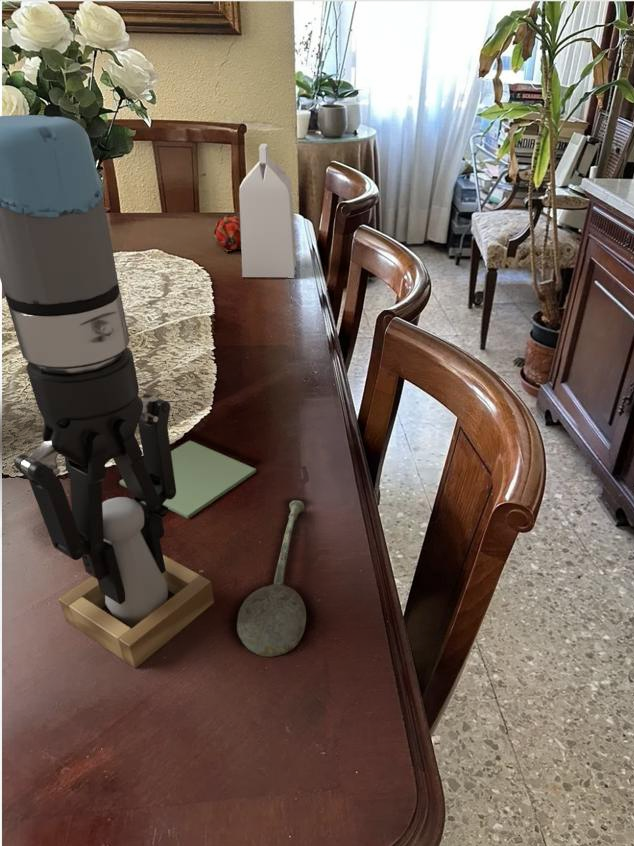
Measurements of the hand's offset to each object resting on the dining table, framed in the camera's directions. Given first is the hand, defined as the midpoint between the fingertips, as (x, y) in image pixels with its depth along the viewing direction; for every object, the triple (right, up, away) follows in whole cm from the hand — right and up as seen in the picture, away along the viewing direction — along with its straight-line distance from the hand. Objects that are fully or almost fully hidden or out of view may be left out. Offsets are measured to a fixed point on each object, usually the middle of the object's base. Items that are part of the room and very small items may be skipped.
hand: (133, 581), depth 63 cm
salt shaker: (0, -4, +3) cm, 4 cm away
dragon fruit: (-10, +67, +103) cm, 123 cm away
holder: (0, -3, +2) cm, 4 cm away
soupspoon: (+14, -1, +7) cm, 15 cm away
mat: (0, +10, +21) cm, 23 cm away
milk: (+1, +58, +90) cm, 107 cm away
